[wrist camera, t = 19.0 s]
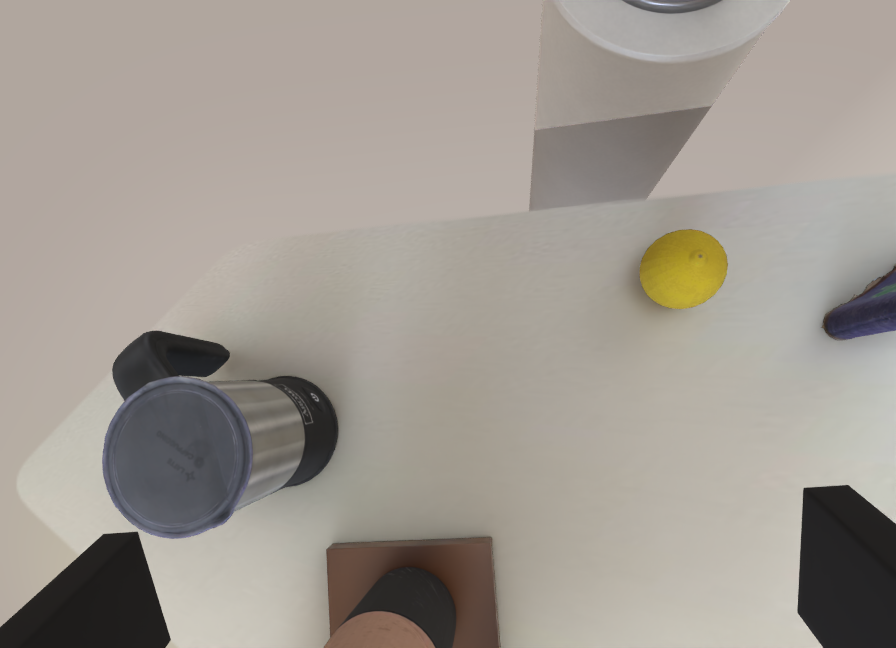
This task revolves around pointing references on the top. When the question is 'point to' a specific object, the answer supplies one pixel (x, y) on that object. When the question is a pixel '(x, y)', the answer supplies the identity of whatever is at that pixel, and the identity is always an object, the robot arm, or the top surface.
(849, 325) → the flask
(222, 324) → the top surface
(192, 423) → the milk frother
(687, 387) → the top surface
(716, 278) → the lemon
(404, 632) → the travel mug
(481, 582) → the serving board
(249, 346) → the top surface
